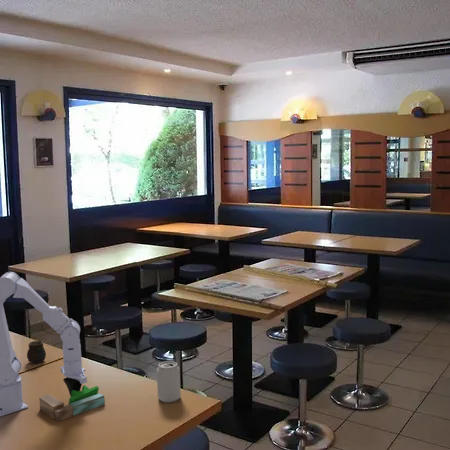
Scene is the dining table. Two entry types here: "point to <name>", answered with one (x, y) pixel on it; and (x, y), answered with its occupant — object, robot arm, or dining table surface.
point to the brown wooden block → (50, 404)
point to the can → (168, 381)
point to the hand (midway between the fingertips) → (75, 398)
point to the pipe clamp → (83, 393)
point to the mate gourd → (36, 352)
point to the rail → (79, 407)
